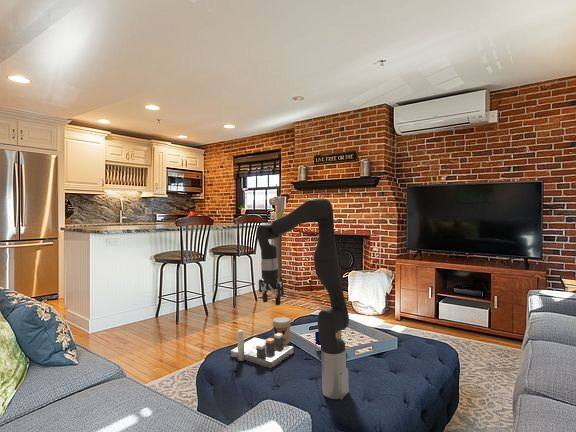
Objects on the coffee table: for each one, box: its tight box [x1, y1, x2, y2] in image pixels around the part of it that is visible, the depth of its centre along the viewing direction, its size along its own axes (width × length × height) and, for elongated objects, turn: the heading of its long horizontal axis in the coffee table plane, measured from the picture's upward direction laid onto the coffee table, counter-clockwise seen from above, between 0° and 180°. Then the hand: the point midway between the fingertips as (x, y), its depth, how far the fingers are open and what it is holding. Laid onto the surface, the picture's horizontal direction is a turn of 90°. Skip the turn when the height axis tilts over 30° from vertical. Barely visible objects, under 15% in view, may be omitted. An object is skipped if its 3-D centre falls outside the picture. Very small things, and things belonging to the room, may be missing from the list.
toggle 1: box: [256, 343, 266, 358], centre depth 169 cm, size 3×3×5 cm
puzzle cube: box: [314, 329, 343, 345], centre depth 181 cm, size 10×10×10 cm
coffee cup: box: [272, 316, 292, 345], centre depth 192 cm, size 9×9×12 cm
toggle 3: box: [273, 333, 283, 347], centre depth 180 cm, size 3×3×5 cm
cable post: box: [236, 329, 245, 362], centre depth 172 cm, size 4×4×14 cm
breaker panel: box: [230, 337, 294, 369], centre depth 178 cm, size 24×18×3 cm
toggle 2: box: [265, 337, 275, 352], centre depth 175 cm, size 3×3×5 cm
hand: (271, 303), depth 167 cm, fingers open, 8 cm apart
